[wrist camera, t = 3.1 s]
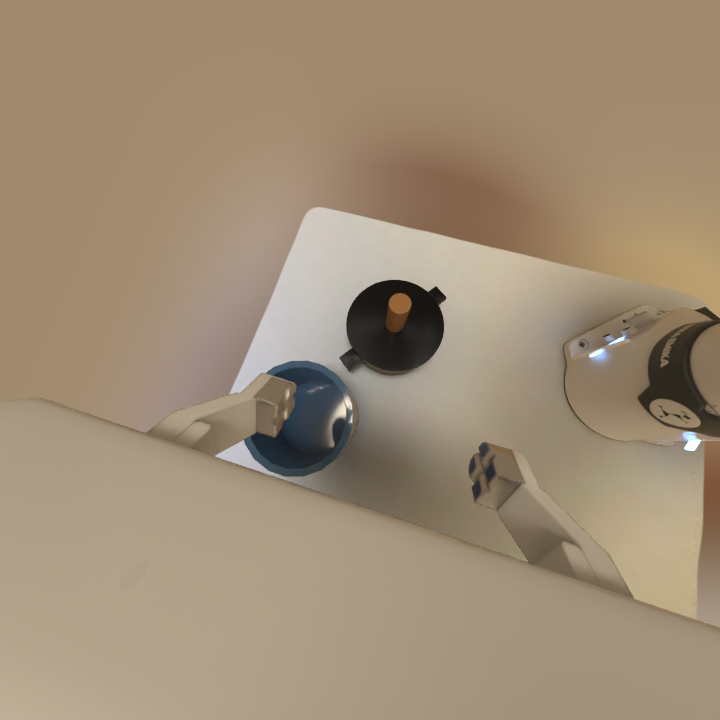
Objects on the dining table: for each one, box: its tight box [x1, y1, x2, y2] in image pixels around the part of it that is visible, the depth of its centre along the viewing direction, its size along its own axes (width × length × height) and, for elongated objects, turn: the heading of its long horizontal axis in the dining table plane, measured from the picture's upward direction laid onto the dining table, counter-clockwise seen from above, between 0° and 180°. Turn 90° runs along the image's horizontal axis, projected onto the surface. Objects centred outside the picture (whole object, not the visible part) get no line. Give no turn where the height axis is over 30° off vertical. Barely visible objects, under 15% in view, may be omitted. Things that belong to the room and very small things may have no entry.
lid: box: [346, 280, 444, 372], centre depth 33 cm, size 14×14×8 cm
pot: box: [244, 361, 358, 477], centre depth 34 cm, size 13×13×11 cm
